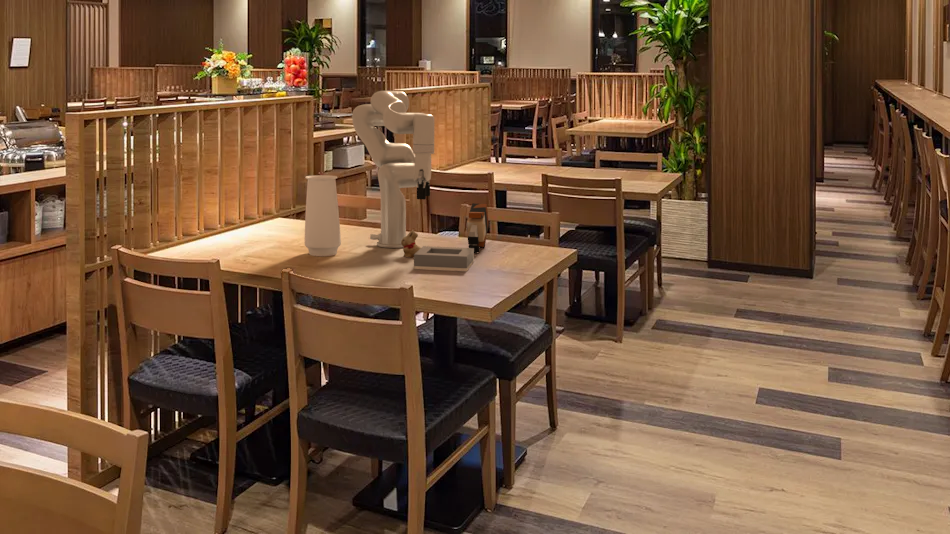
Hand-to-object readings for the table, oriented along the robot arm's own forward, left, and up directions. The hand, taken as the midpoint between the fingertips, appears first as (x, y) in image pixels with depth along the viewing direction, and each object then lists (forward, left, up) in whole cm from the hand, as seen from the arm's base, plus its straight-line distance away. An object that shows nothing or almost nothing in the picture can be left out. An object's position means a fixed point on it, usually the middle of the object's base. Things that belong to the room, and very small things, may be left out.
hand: (423, 197), depth 320 cm
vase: (-36, -4, -21) cm, 42 cm away
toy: (+17, +18, -21) cm, 33 cm away
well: (+11, -16, -21) cm, 29 cm away
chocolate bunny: (-3, -2, -22) cm, 22 cm away
